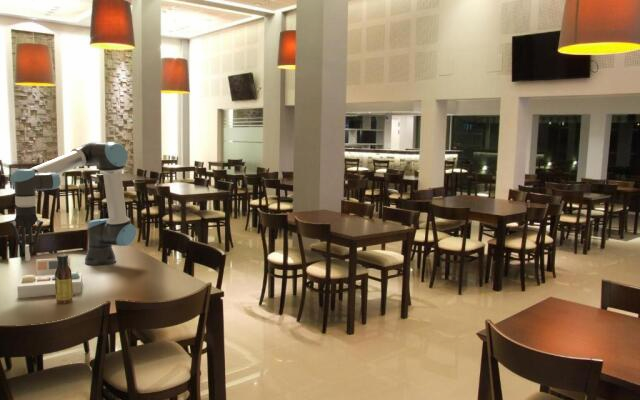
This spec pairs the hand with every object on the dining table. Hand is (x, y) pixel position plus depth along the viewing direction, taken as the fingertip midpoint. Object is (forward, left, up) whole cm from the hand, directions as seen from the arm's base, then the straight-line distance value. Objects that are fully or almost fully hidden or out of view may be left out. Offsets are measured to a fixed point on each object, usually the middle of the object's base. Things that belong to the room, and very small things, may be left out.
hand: (27, 260), depth 224 cm
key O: (-12, 0, -13) cm, 17 cm away
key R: (-17, 0, -11) cm, 21 cm away
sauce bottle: (-15, +19, -14) cm, 28 cm away
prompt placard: (-9, -13, -14) cm, 21 cm away
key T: (0, 0, -11) cm, 11 cm away
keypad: (-9, 0, -14) cm, 17 cm away
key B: (-6, 0, -13) cm, 14 cm away
